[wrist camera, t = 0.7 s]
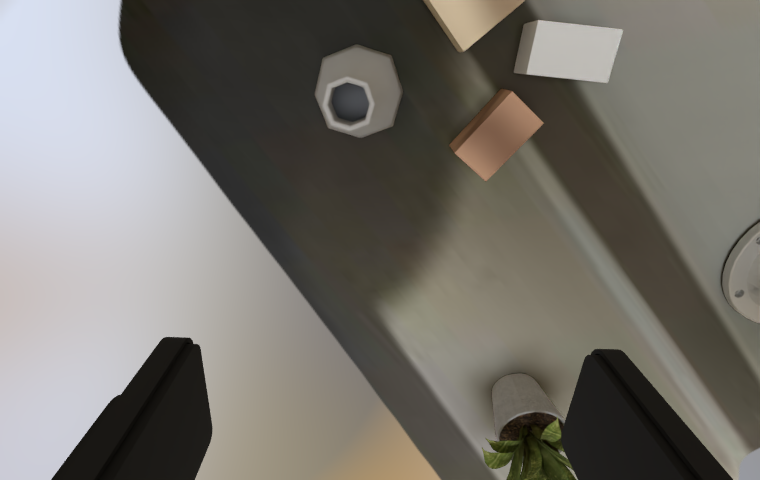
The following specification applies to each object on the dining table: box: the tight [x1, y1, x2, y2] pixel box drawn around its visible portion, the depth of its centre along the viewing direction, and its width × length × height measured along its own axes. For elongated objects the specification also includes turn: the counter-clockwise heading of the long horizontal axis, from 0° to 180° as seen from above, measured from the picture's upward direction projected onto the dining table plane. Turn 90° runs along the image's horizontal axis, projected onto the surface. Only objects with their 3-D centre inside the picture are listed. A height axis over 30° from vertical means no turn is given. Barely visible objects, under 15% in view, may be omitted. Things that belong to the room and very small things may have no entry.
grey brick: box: [514, 20, 623, 83], centre depth 31 cm, size 6×4×4 cm, turn 84°
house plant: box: [482, 373, 576, 480], centre depth 39 cm, size 14×14×16 cm
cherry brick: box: [449, 89, 543, 181], centre depth 34 cm, size 6×4×4 cm, turn 139°
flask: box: [315, 44, 403, 138], centre depth 29 cm, size 7×7×10 cm
